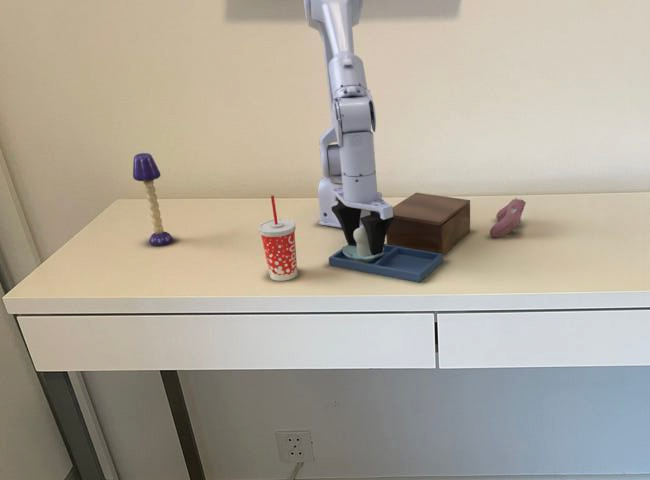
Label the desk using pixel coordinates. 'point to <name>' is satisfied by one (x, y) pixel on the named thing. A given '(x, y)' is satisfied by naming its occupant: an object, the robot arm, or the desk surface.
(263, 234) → the beverage cup
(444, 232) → the chest
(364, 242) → the pacifier
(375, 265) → the tray
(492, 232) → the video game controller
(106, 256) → the desk surface
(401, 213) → the chest lid
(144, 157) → the toy lamp
